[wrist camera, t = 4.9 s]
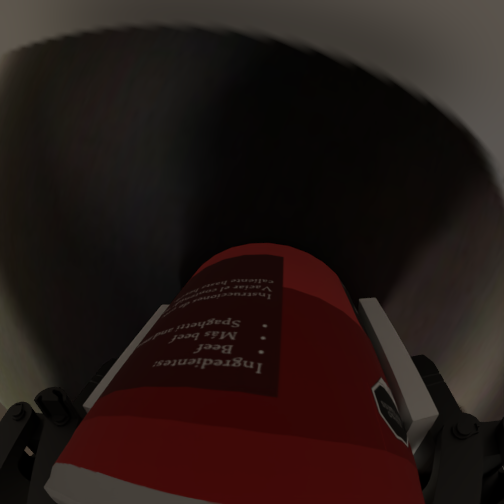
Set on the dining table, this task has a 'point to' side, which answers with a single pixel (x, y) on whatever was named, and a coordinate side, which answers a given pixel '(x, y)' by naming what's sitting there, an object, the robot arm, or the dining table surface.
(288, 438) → the canned food
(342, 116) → the dining table surface
